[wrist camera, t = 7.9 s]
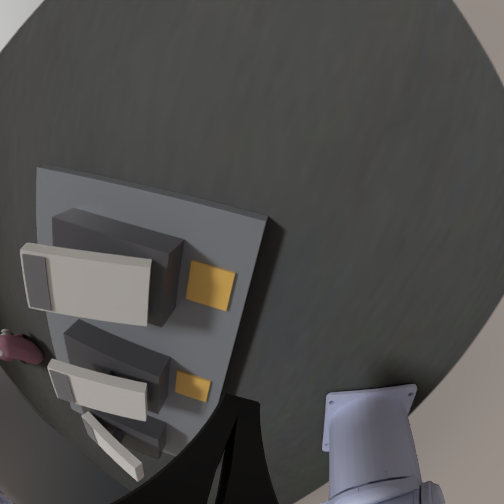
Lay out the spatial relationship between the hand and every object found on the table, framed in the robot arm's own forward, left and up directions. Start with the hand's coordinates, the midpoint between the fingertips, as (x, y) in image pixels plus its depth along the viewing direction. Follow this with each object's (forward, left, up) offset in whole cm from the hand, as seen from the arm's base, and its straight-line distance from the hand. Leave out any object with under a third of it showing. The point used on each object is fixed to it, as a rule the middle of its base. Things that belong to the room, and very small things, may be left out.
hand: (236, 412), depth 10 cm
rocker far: (-16, +17, -5) cm, 23 cm away
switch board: (-6, +13, -10) cm, 18 cm away
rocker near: (+3, +10, -5) cm, 11 cm away
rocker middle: (-6, +13, -5) cm, 15 cm away
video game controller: (-8, +33, -11) cm, 35 cm away
